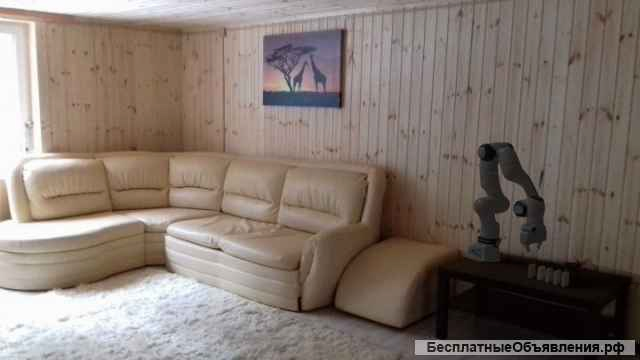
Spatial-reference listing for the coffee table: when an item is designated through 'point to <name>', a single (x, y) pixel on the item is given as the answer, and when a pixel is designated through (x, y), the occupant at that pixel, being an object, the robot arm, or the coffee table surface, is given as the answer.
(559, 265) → the coffee table surface
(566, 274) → the domino
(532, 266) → the domino
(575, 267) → the box
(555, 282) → the domino
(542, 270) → the domino
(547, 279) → the domino
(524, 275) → the coffee table surface
